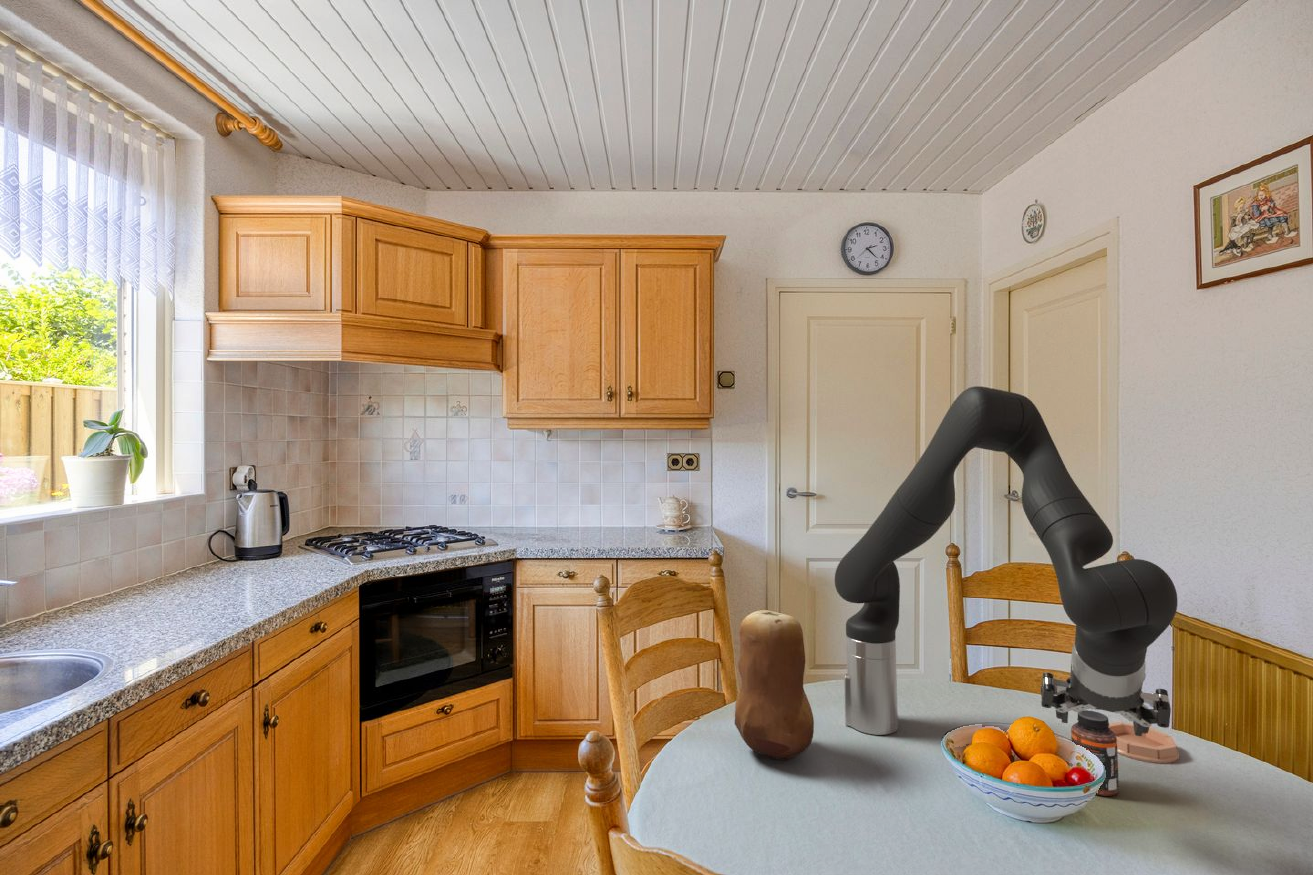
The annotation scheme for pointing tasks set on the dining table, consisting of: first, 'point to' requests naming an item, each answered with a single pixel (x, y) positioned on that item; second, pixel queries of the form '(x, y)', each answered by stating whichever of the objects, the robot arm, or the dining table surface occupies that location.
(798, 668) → the butternut squash
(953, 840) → the dining table surface
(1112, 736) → the supplement bottle
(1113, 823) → the dining table surface
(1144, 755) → the coaster dish
